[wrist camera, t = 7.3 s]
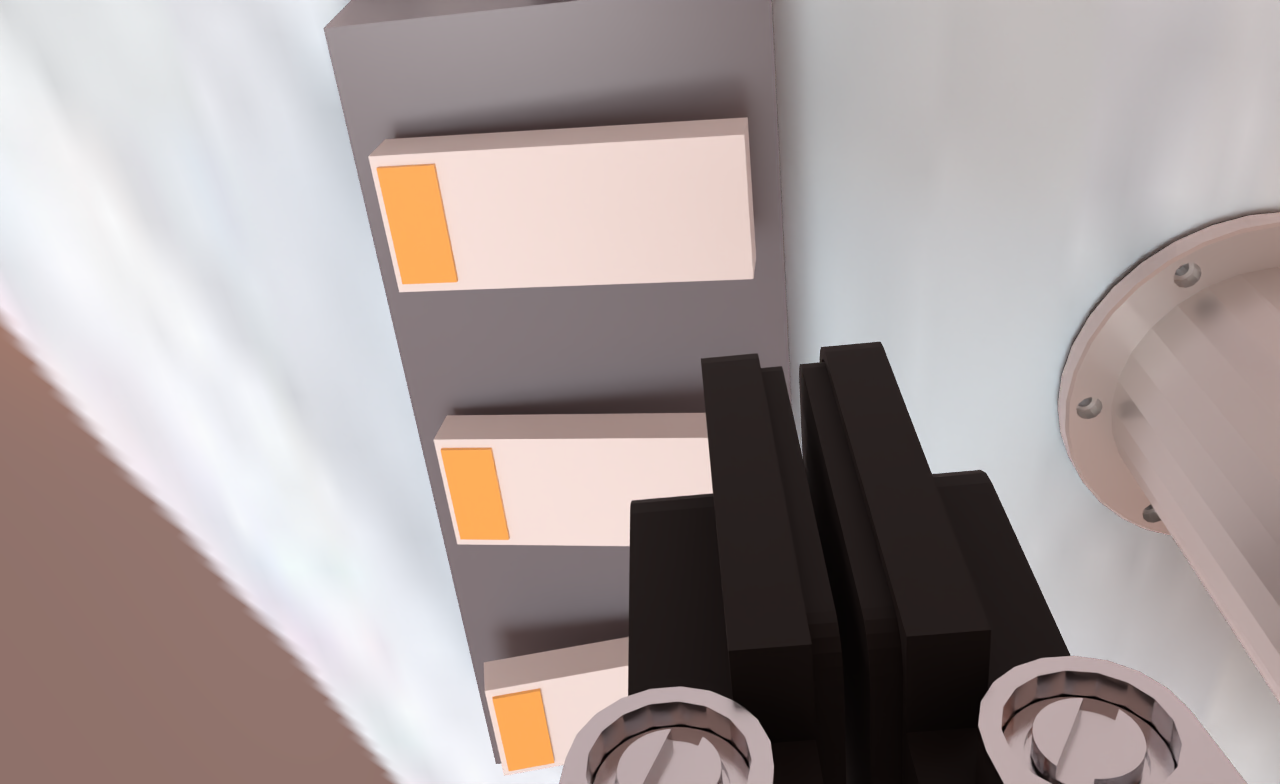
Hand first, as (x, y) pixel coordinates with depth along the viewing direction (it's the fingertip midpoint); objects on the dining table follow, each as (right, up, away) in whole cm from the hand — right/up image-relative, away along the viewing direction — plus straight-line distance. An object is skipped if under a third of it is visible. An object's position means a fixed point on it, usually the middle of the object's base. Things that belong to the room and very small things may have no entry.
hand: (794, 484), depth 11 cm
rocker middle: (-2, -2, +25) cm, 26 cm away
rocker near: (-3, +6, +21) cm, 22 cm away
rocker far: (-2, -10, +30) cm, 31 cm away
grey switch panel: (-3, +3, +30) cm, 30 cm away
